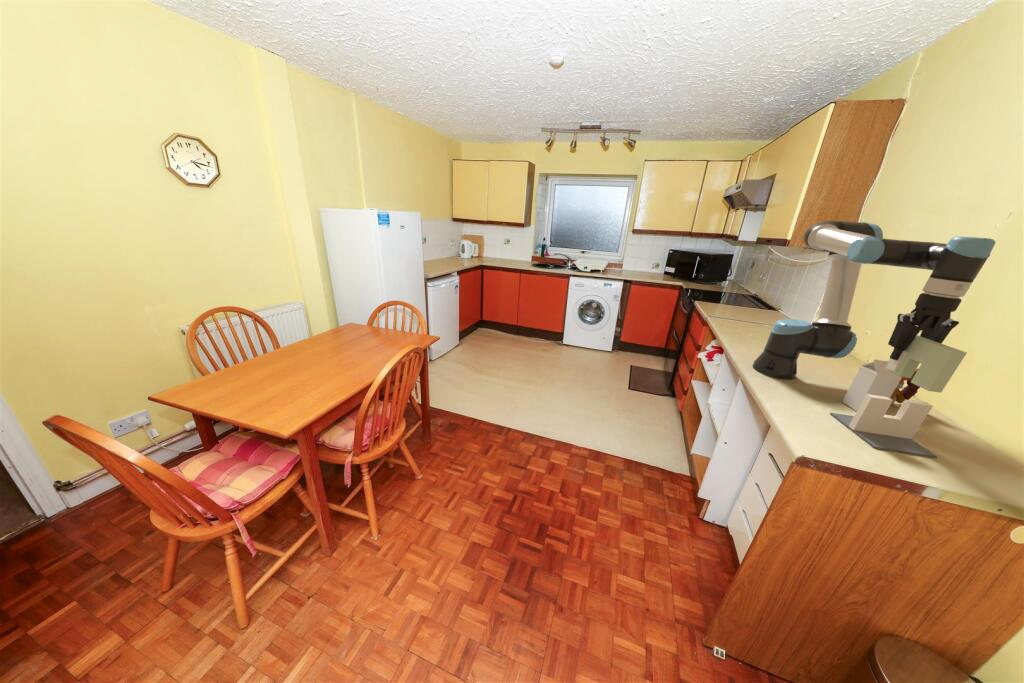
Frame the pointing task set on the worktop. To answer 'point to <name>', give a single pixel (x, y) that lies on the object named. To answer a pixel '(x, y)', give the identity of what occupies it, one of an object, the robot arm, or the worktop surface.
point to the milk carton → (871, 383)
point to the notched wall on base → (888, 424)
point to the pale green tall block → (929, 364)
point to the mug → (904, 390)
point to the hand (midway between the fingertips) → (898, 370)
